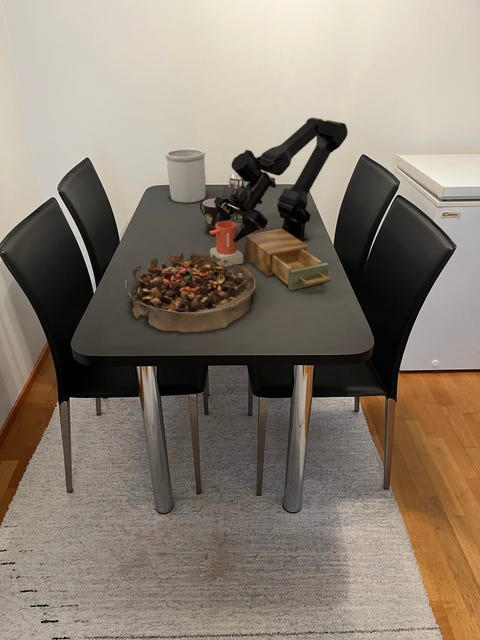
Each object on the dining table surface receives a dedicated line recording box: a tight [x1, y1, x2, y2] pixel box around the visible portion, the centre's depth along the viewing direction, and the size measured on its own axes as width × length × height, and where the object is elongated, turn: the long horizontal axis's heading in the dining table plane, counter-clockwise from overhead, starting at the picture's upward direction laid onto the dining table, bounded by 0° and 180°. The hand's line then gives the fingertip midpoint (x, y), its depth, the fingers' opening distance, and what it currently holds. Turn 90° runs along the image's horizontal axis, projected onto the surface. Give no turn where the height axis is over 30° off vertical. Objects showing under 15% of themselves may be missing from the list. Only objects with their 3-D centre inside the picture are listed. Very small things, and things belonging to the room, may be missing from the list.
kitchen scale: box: [209, 246, 244, 268], centre depth 147 cm, size 7×8×3 cm
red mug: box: [209, 220, 238, 255], centre depth 144 cm, size 8×6×8 cm
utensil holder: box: [165, 147, 207, 204], centre depth 193 cm, size 15×15×18 cm
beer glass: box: [228, 173, 248, 222], centre depth 174 cm, size 7×7×15 cm
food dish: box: [124, 252, 257, 333], centre depth 128 cm, size 35×33×8 cm
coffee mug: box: [199, 198, 217, 237], centre depth 165 cm, size 12×9×10 cm
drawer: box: [270, 249, 331, 291], centre depth 134 cm, size 18×11×5 cm, turn 26°
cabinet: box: [244, 228, 308, 277], centre depth 145 cm, size 14×12×7 cm
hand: (223, 236), depth 144 cm, fingers open, 9 cm apart
